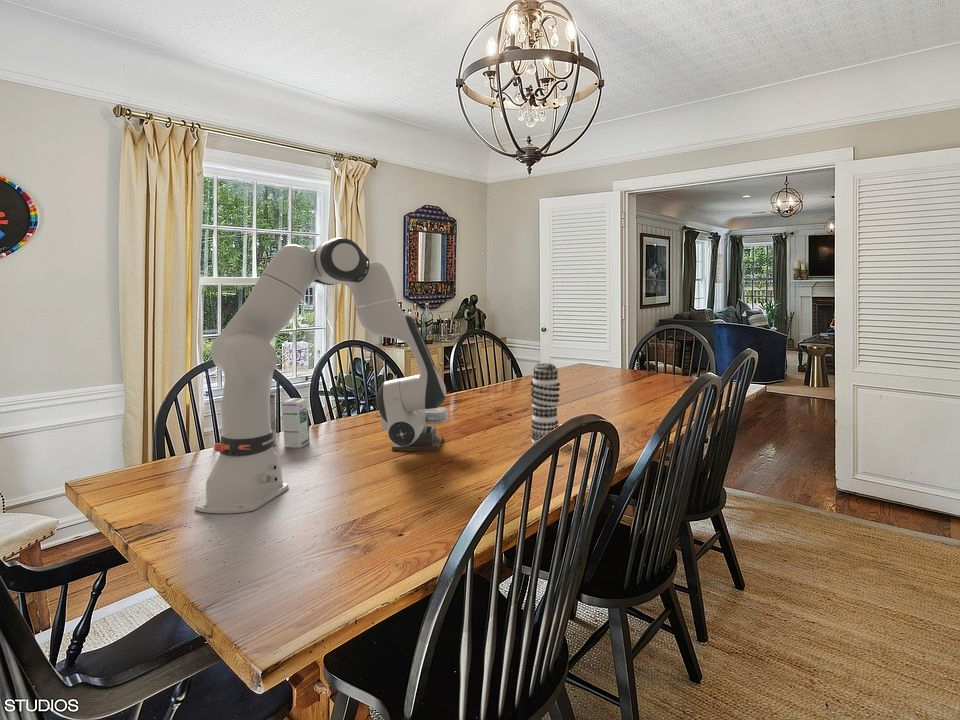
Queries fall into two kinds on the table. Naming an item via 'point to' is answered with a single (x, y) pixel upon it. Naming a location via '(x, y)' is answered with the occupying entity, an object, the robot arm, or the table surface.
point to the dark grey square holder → (423, 442)
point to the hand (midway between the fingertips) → (417, 409)
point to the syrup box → (295, 422)
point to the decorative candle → (544, 400)
